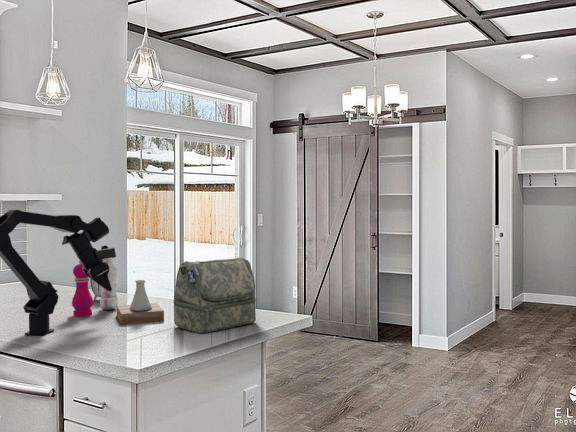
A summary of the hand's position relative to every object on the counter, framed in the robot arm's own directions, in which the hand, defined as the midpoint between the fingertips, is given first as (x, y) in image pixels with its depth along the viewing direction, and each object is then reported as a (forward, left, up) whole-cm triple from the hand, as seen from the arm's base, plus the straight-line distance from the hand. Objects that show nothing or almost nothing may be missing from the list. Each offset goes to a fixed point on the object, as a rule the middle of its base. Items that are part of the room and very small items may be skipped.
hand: (108, 289), depth 206 cm
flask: (+6, -9, -8) cm, 13 cm away
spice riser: (+9, -7, -11) cm, 16 cm away
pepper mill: (+12, +15, -12) cm, 23 cm away
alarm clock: (+44, +21, -12) cm, 50 cm away
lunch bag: (-1, -37, -12) cm, 39 cm away
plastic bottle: (+23, +10, -12) cm, 28 cm away
